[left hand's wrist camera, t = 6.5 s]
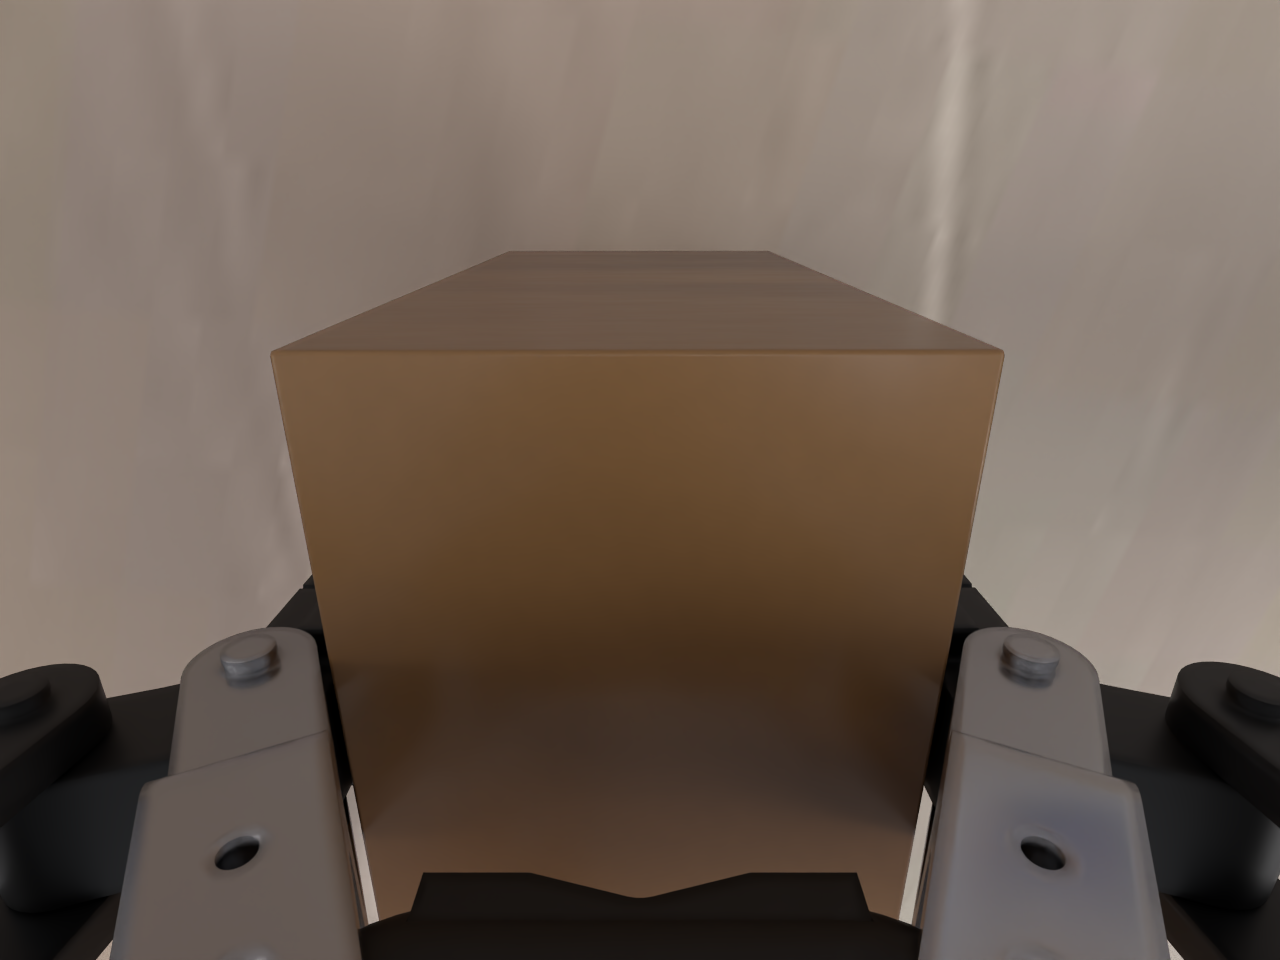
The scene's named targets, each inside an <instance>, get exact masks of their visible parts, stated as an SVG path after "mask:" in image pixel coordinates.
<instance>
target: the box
mask: <svg viewBox="0 0 1280 960" xmlns="http://www.w3.org/2000/svg"><path fill="white" fill-rule="evenodd" d="M270 357H271V362H272V367H273V373H274V378H275V383H276V388H277V393H278V399H279V404H280V409H281V414H282V419H283V424H284V430H285V435H286V440H287V445H288V450H289V456H290V461H291V466H292V471H293V476H294V481H295V487H296V492H297V497H298V502H299V507H300V513H301V518H302V523H303V528H304V533H305V538H306V544H307V549H308V554H309V559H310V564H311V570H312V575H313V580H314V585H315V590H316V595H317V601H318V606H319V611H320V616H321V621H322V627H323V632H324V637H325V642H326V647H327V652H328V658H329V663H330V668H331V673H332V678H333V684H334V689H335V694H336V699H337V704H338V709H339V715H340V720H341V725H342V730H343V735H344V741H345V746H346V751H347V756H348V761H349V766H350V772H351V777H352V782H353V787H354V792H355V798H356V803H357V808H358V813H359V818H360V823H361V829H362V834H363V839H364V844H365V849H366V855H367V860H368V865H369V870H370V875H371V880H372V886H373V891H374V896H375V901H376V906H377V912H378V917H379V921H380V920H383V919H386V918H389V917H392V916H395V915H398V914H401V913H405V912H409V911H411V909H412V906H413V902H414V899H415V896H416V893H417V890H418V887H419V884H420V881H421V878H422V874H423V872H530V873H534V874H538V875H542V876H546V877H550V878H554V879H559V880H563V881H567V882H571V883H575V884H579V885H583V886H587V887H591V888H595V889H599V890H603V891H608V892H612V893H616V894H620V895H624V896H628V897H634V898H646V897H652V896H656V895H660V894H664V893H668V892H672V891H677V890H681V889H685V888H689V887H693V886H697V885H701V884H705V883H709V882H713V881H717V880H721V879H726V878H730V877H734V876H738V875H742V874H746V873H750V872H857V874H858V878H859V881H860V884H861V887H862V890H863V893H864V896H865V899H866V902H867V906H868V909H869V911H871V912H875V913H879V914H882V915H885V916H888V917H891V918H894V919H897V920H899V915H900V909H901V904H902V899H903V893H904V888H905V883H906V877H907V872H908V867H909V862H910V856H911V851H912V846H913V840H914V835H915V830H916V824H917V819H918V814H919V808H920V803H921V798H922V792H923V787H924V782H925V776H926V771H927V766H928V760H929V755H930V750H931V744H932V739H933V734H934V728H935V723H936V718H937V712H938V707H939V702H940V696H941V691H942V686H943V680H944V675H945V670H946V664H947V659H948V654H949V648H950V643H951V638H952V632H953V627H954V622H955V616H956V611H957V606H958V601H959V595H960V590H961V585H962V579H963V574H964V569H965V563H966V558H967V553H968V547H969V542H970V537H971V531H972V526H973V521H974V515H975V510H976V505H977V499H978V494H979V489H980V483H981V478H982V473H983V467H984V462H985V457H986V451H987V446H988V441H989V435H990V430H991V425H992V419H993V414H994V409H995V403H996V398H997V393H998V387H999V382H1000V377H1001V371H1002V366H1003V361H1004V351H1003V350H1001V349H999V348H996V347H994V346H992V345H989V344H987V343H985V342H982V341H980V340H978V339H975V338H973V337H970V336H968V335H966V334H963V333H961V332H959V331H956V330H954V329H951V328H949V327H947V326H944V325H942V324H940V323H937V322H935V321H933V320H930V319H928V318H925V317H923V316H921V315H918V314H916V313H914V312H911V311H909V310H907V309H904V308H902V307H899V306H897V305H895V304H892V303H890V302H888V301H885V300H883V299H881V298H878V297H876V296H873V295H871V294H869V293H866V292H864V291H862V290H859V289H857V288H855V287H852V286H850V285H847V284H845V283H843V282H840V281H838V280H836V279H833V278H831V277H828V276H826V275H824V274H821V273H819V272H817V271H814V270H812V269H810V268H807V267H805V266H802V265H800V264H798V263H795V262H793V261H791V260H788V259H786V258H784V257H781V256H779V255H776V254H774V253H772V252H769V251H509V252H507V253H504V254H502V255H500V256H497V257H495V258H492V259H490V260H488V261H485V262H483V263H481V264H478V265H476V266H473V267H471V268H469V269H466V270H464V271H461V272H459V273H457V274H454V275H452V276H450V277H447V278H445V279H442V280H440V281H438V282H435V283H433V284H431V285H428V286H426V287H423V288H421V289H419V290H416V291H414V292H412V293H409V294H407V295H404V296H402V297H400V298H397V299H395V300H393V301H390V302H388V303H385V304H383V305H381V306H378V307H376V308H374V309H371V310H369V311H366V312H364V313H362V314H359V315H357V316H354V317H352V318H350V319H347V320H345V321H343V322H340V323H338V324H335V325H333V326H331V327H328V328H326V329H324V330H321V331H319V332H316V333H314V334H312V335H309V336H307V337H305V338H302V339H300V340H297V341H295V342H293V343H290V344H288V345H286V346H283V347H281V348H278V349H276V350H274V351H272V352H271V356H270Z"/></svg>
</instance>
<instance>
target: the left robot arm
mask: <svg viewBox="0 0 1280 960" xmlns="http://www.w3.org/2000/svg"><path fill="white" fill-rule="evenodd" d="M351 785H353V782H352V777H351V772H350V766H349V761H348V756H347V751H346V746H345V741H344V735H343V730H342V725H341V720H340V715H339V709H338V704H337V699H336V694H335V689H334V684H333V678H332V673H331V668H330V663H329V658H328V652H327V647H326V642H325V637H324V632H323V627H322V621H321V616H320V611H319V606H318V601H317V595H316V590H315V585H314V580H313V575H311V576H310V578H309V579H308V580H307V581H306V582H305V583H304V585H303V589H299V590H298V592H297V593H296V594H295V595H294V596H293V597H292V598H291V600H290V601H289V602H288V603H287V604H286V605H285V607H284V608H283V609H282V610H281V611H280V612H279V613H278V615H277V616H276V617H275V618H274V619H273V620H272V622H271V623H270V624H269V625H268V626H267V627H266V628H261V629H255V630H250V631H247V632H243V633H239V634H236V635H234V636H231V637H228V638H226V639H224V640H221V641H219V642H217V643H215V644H213V645H211V646H210V647H208V648H206V649H205V650H203V651H202V652H200V653H199V654H198V655H197V656H196V657H194V658H193V659H192V660H191V661H190V662H189V663H188V665H187V666H186V668H185V669H184V671H183V673H182V677H181V682H180V684H177V685H173V686H168V687H164V688H159V689H153V690H148V691H143V692H138V693H132V694H127V695H122V696H117V697H111V698H106V696H105V693H104V690H103V687H102V684H101V681H100V678H99V675H98V674H97V672H96V671H95V670H93V669H92V668H90V667H87V666H84V665H79V664H54V665H47V666H41V667H37V668H32V669H28V670H24V671H21V672H18V673H14V674H11V675H8V676H6V677H3V678H0V960H96V959H97V958H98V957H99V955H100V954H101V953H102V952H103V951H104V949H105V948H106V947H107V946H108V945H109V943H110V942H111V941H112V940H113V942H112V948H111V953H110V959H109V960H1171V959H1170V954H1169V948H1168V943H1167V940H1168V941H1169V942H1170V943H1171V945H1172V946H1173V947H1174V948H1175V949H1176V951H1177V952H1178V953H1179V954H1180V955H1181V957H1182V958H1183V959H1184V960H1280V880H1279V879H1278V877H1279V874H1280V678H1279V677H1277V676H1274V675H1271V674H1269V673H1266V672H1263V671H1260V670H1256V669H1253V668H1249V667H1245V666H1241V665H1236V664H1230V663H1223V662H1198V663H1193V664H1190V665H1187V666H1185V667H1184V668H1182V669H1181V670H1180V672H1179V673H1178V676H1177V679H1176V682H1175V685H1174V688H1173V691H1172V694H1171V697H1166V696H1160V695H1155V694H1150V693H1144V692H1139V691H1134V690H1129V689H1123V688H1118V687H1113V686H1108V685H1103V684H1100V683H1099V677H1098V673H1097V671H1096V669H1095V668H1094V666H1093V665H1092V664H1091V662H1090V661H1089V660H1088V659H1087V658H1086V657H1084V656H1083V655H1082V654H1081V653H1080V652H1078V651H1077V650H1075V649H1074V648H1072V647H1070V646H1069V645H1067V644H1065V643H1063V642H1061V641H1059V640H1056V639H1054V638H1052V637H1049V636H1046V635H1044V634H1041V633H1037V632H1033V631H1030V630H1025V629H1019V628H1011V627H1008V626H1007V624H1006V623H1005V622H1004V621H1003V620H1002V619H1001V617H1000V616H999V615H998V614H997V613H996V612H995V610H994V609H993V608H992V607H991V606H990V605H989V603H988V602H987V601H986V600H985V599H984V598H983V596H982V595H981V594H980V593H979V592H978V591H977V589H976V588H972V584H971V582H970V581H969V580H968V579H967V578H966V577H965V575H964V574H963V579H962V585H961V590H960V595H959V601H958V606H957V611H956V616H955V622H954V627H953V632H952V638H951V643H950V648H949V654H948V659H947V664H946V670H945V675H944V680H943V686H942V691H941V696H940V702H939V707H938V712H937V718H936V723H935V728H934V734H933V739H932V744H931V750H930V755H929V760H928V766H927V771H926V776H925V782H924V786H925V788H926V790H927V792H928V794H929V797H930V799H931V801H932V807H931V812H930V817H929V822H928V828H927V835H926V841H925V847H924V853H923V859H922V865H921V871H920V877H919V883H918V889H917V895H916V901H915V907H914V913H913V919H912V925H911V924H908V923H905V922H902V921H900V920H897V919H894V918H891V917H888V916H885V915H882V914H879V913H875V912H871V911H869V909H868V906H867V902H866V899H865V896H864V893H863V890H862V887H861V884H860V881H859V878H858V874H857V872H750V873H746V874H742V875H738V876H734V877H730V878H726V879H721V880H717V881H713V882H709V883H705V884H701V885H697V886H693V887H689V888H685V889H681V890H677V891H672V892H668V893H664V894H660V895H656V896H652V897H646V898H634V897H628V896H624V895H620V894H616V893H612V892H608V891H603V890H599V889H595V888H591V887H587V886H583V885H579V884H575V883H571V882H567V881H563V880H559V879H554V878H550V877H546V876H542V875H538V874H534V873H530V872H423V874H422V878H421V881H420V884H419V887H418V890H417V893H416V896H415V899H414V902H413V906H412V909H411V911H409V912H405V913H401V914H398V915H395V916H392V917H389V918H386V919H383V920H380V921H378V922H375V923H372V924H369V925H368V919H367V913H366V907H365V901H364V895H363V889H362V883H361V877H360V871H359V865H358V859H357V853H356V847H355V841H354V835H353V829H352V823H351V817H350V812H349V807H348V802H347V797H346V795H347V793H348V791H349V789H350V787H351Z"/></svg>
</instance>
